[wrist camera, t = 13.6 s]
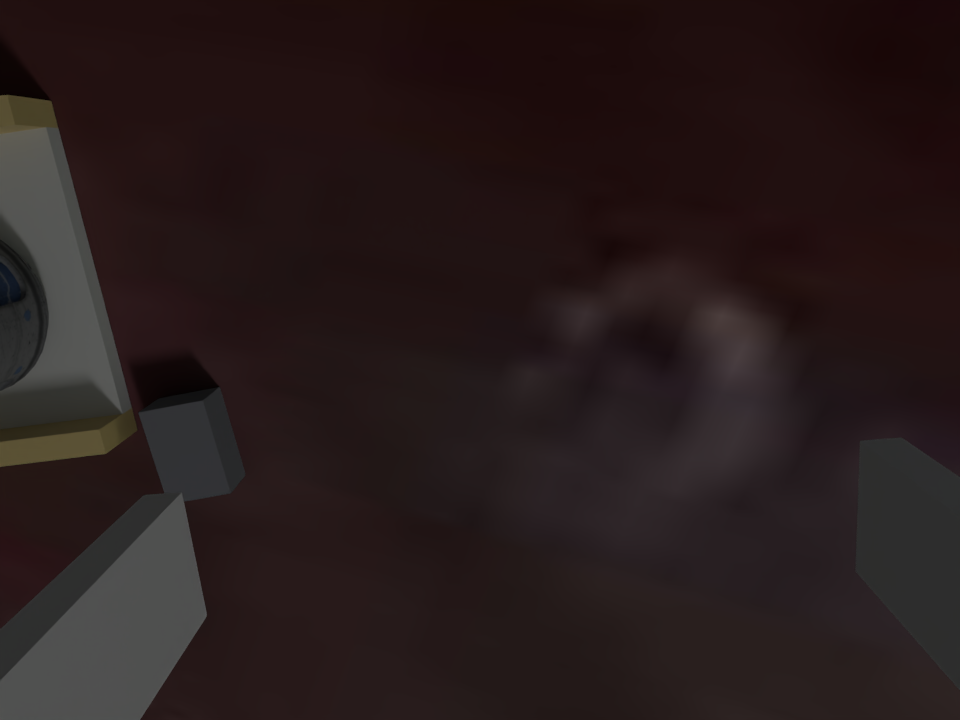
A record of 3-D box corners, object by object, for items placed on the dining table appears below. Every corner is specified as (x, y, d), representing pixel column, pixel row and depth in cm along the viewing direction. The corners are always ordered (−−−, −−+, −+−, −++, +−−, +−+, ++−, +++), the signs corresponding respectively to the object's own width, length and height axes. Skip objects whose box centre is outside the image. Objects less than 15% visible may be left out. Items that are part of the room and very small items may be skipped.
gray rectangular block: (160, 397, 48) (138, 412, 45) (220, 386, 47) (202, 400, 45) (187, 484, 49) (168, 504, 46) (246, 473, 49) (230, 493, 46)
